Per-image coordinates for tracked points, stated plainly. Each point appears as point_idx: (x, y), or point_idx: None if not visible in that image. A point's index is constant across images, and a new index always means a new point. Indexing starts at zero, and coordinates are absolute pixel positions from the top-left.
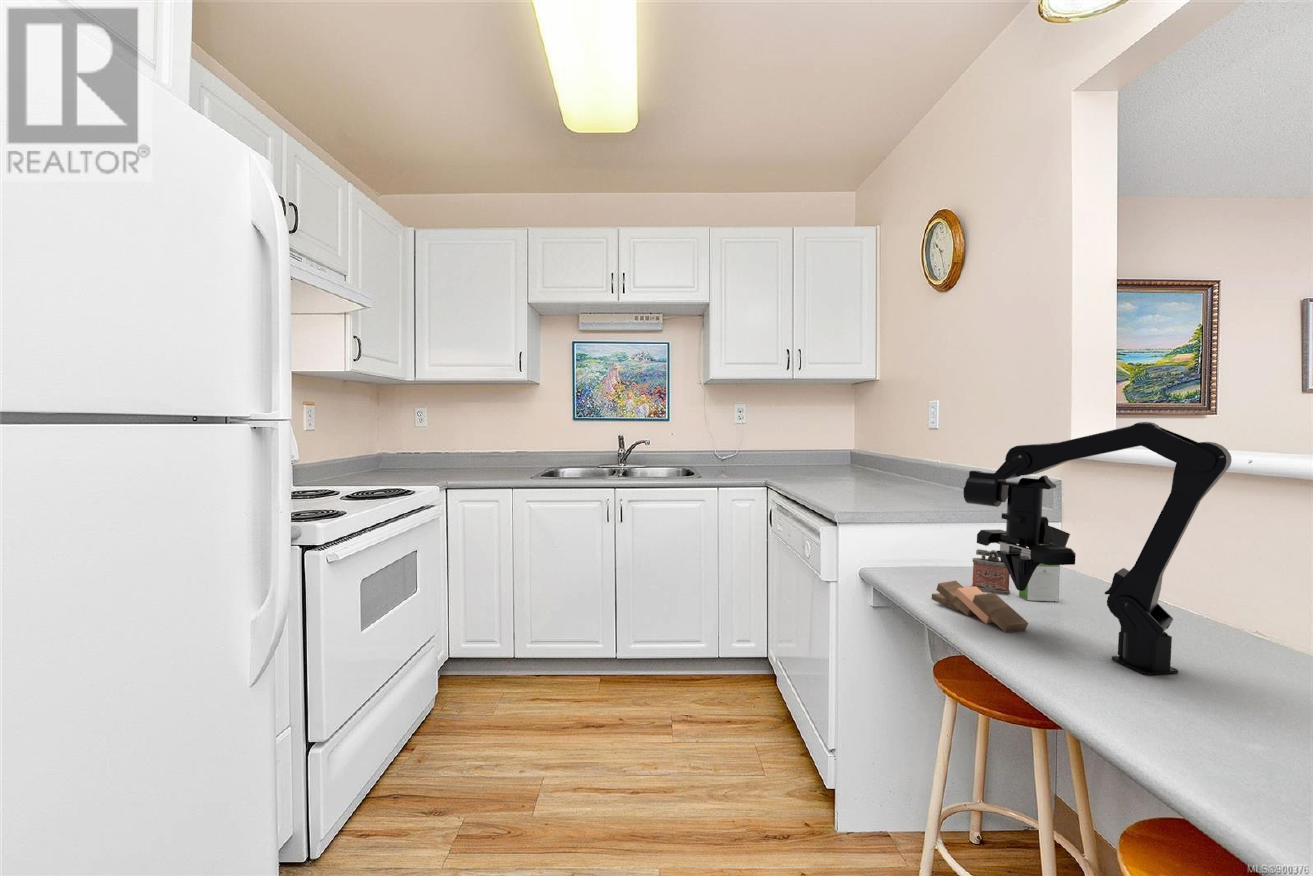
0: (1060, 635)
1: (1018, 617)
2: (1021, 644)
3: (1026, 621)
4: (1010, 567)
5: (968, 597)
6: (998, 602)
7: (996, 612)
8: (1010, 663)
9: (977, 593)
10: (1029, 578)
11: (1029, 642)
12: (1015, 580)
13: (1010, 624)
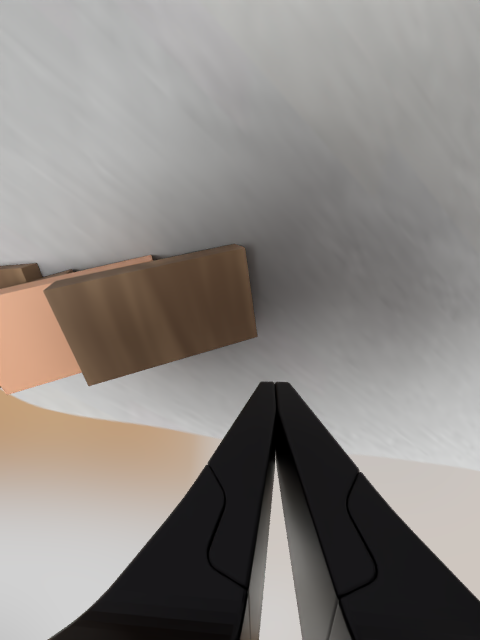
0: (299, 134)
1: (215, 272)
2: (342, 345)
3: (237, 252)
4: (258, 637)
5: (66, 371)
6: (124, 309)
7: (194, 347)
8: (432, 446)
9: (19, 325)
10: (337, 451)
11: (334, 312)
12: (273, 480)
13: (254, 327)
